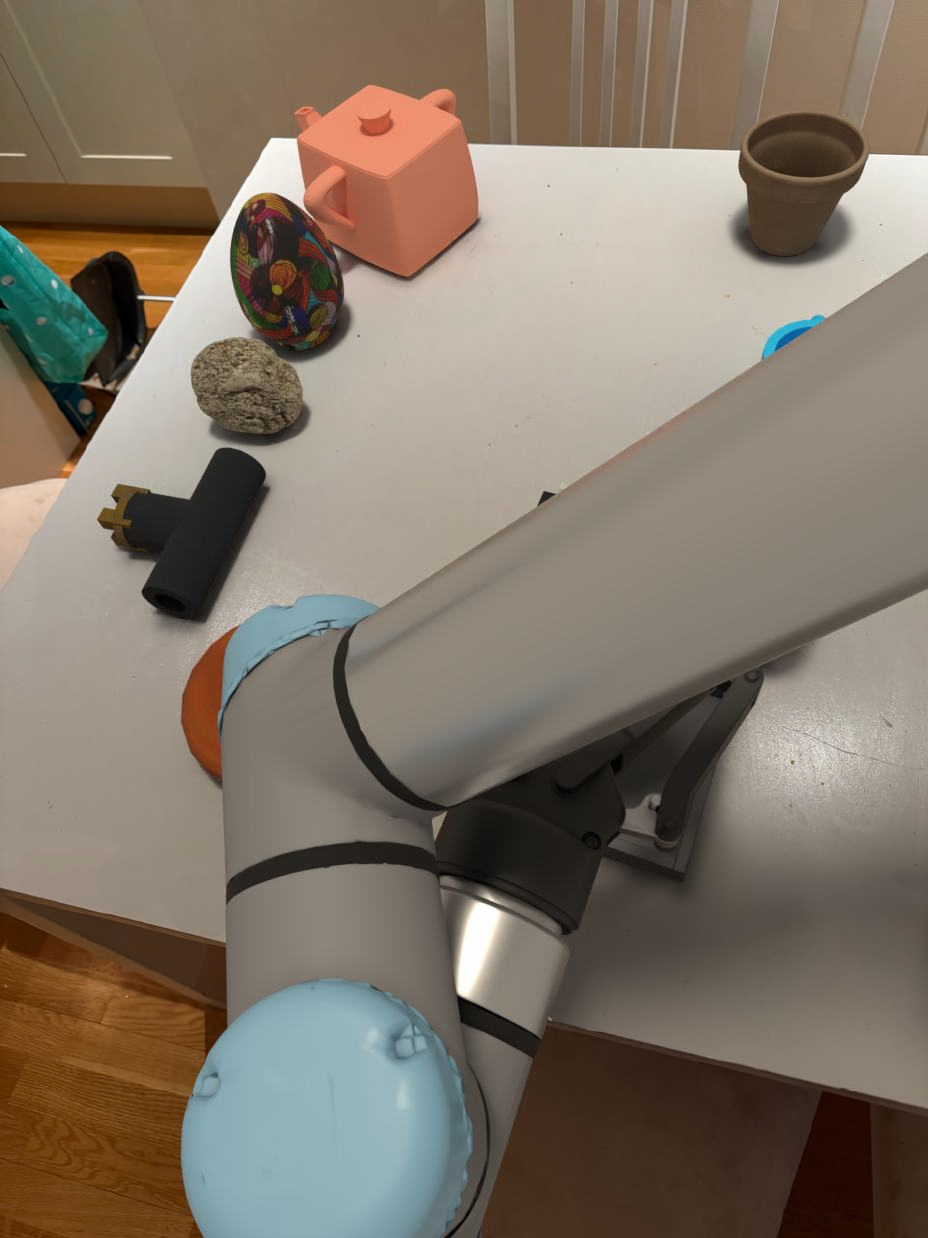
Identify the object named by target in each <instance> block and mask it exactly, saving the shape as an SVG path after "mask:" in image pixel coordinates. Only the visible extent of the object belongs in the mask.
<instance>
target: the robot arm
mask: <svg viewBox="0 0 928 1238" xmlns="http://www.w3.org/2000/svg"><path fill="white" fill-rule="evenodd" d="M825 318H826V319H825V320H823V321H821V322H820V323H818V324H817V325H815V326H814V327H812V328H811V329H809V330H808V331H806V332H805V333H803V334H802V335H800V336H798V337H797V338H795V339H794V340H792V341H791V342H789V343H788V344H786V345H785V346H783V347H782V348H780V349H778V350H777V351H775V352H774V353H772V354H771V355H769V356H768V357H766V358H765V359H763V360H762V361H761V360H760V361H758V362H757V363H756V364H754V365H752V366H751V367H749V368H748V369H746V370H745V371H743V372H741V373H740V374H738V375H737V376H735V377H734V378H733V379H731V380H729V381H728V382H726V383H724V384H723V385H721V386H720V387H719V388H717V389H715V390H714V391H712V392H711V393H709V394H708V395H706V396H704V397H703V398H701V399H700V400H698V401H697V402H696V403H694V404H692V405H691V406H690V407H689V406H688V407H687V408H686V409H685V410H683V411H681V412H680V413H678V414H677V415H675V416H674V417H673V418H670V419H669V420H668V421H666V422H665V423H663V424H662V425H660V426H658V427H657V428H655V429H654V430H652V431H651V432H649V433H648V434H646V435H645V436H643V437H642V438H640V439H639V440H637V441H635V442H634V443H632V444H631V445H629V446H628V447H625V449H623V450H622V451H620V452H619V453H617V454H616V455H614V456H613V457H611V458H609V459H608V460H606V461H605V462H603V463H602V464H600V465H599V466H597V467H596V468H593V469H592V470H590V471H589V472H588V473H586V474H585V475H583V476H582V477H580V478H578V479H577V480H575V481H574V482H573V483H571V484H569V485H568V486H566V487H565V488H563V489H562V490H560V491H559V492H556V493H555V492H550V491H546V490H543V492H542V494H541V496H540V498H539V500H538V503H537V505H536V506H535V507H533V509H531V510H530V511H528V512H526V513H525V514H524V515H522V516H520V517H518V518H517V519H516V520H514V521H512V522H511V523H509V524H508V525H506V526H505V527H503V528H501V530H499V531H497V532H496V533H494V534H492V535H491V536H489V537H488V538H486V539H485V540H483V541H481V542H480V543H479V544H477V545H476V546H474V547H473V548H471V549H470V550H468V551H466V552H465V553H464V554H462V555H460V556H458V557H457V558H455V559H454V560H453V561H450V562H449V563H448V564H447V565H445V566H444V567H441V568H440V569H439V570H437V571H436V572H434V573H432V574H431V575H429V576H428V577H426V578H425V579H423V580H422V581H420V582H418V583H417V584H415V585H414V586H412V587H411V588H410V589H408V590H407V591H405V592H404V593H402V594H400V595H398V596H397V597H396V598H394V599H392V600H391V601H390V602H388V603H386V605H383V606H382V607H380V606H378V605H377V604H375V603H372V602H370V601H367V600H364V599H361V598H358V597H355V596H350V595H344V594H336V593H331V594H326V593H325V594H324V593H323V594H307V595H302V596H298V597H297V598H296V600H295V602H294V604H290V605H279V604H271V605H267V606H265V607H263V608H262V609H259V610H258V611H256V612H255V613H253V614H252V615H251V616H249V617H247V619H245V620H244V621H243V622H242V623H241V624H239V625H240V626H239V627H238V628H237V630H236V631H235V632H234V634H233V635H232V637H231V639H230V641H229V643H228V645H227V648H226V651H225V657H224V666H223V684H222V702H221V709H220V711H219V712H218V719H217V722H218V737H219V742H220V745H221V764H222V781H221V785H222V786H221V789H222V792H221V793H222V815H223V816H222V817H223V818H222V819H223V843H224V868H225V869H224V871H225V873H224V874H225V960H226V961H225V963H226V964H225V965H226V966H225V967H226V968H225V969H226V1022H227V1024H226V1025H227V1028H226V1029H225V1030H224V1031H223V1033H221V1035H220V1036H219V1037H218V1038H217V1040H216V1042H215V1043H214V1044H213V1046H212V1047H211V1049H210V1050H209V1051H208V1053H207V1056H206V1059H205V1062H204V1064H203V1066H202V1068H201V1069H200V1072H199V1073H198V1075H197V1077H196V1080H195V1083H194V1086H193V1090H192V1092H191V1095H190V1097H189V1098H188V1101H187V1105H186V1109H185V1112H184V1115H183V1121H182V1128H181V1138H180V1139H181V1140H180V1141H181V1142H180V1163H181V1164H180V1165H181V1175H182V1180H183V1187H184V1191H185V1196H186V1199H187V1202H188V1206H189V1209H190V1212H191V1214H192V1216H193V1219H194V1221H195V1223H196V1226H197V1228H198V1230H199V1232H200V1233H201V1236H202V1237H203V1238H481V1237H482V1230H481V1227H482V1224H483V1220H484V1217H485V1214H486V1211H487V1208H488V1205H489V1201H490V1199H491V1195H492V1192H493V1190H494V1186H495V1182H496V1181H497V1177H498V1174H499V1171H500V1169H501V1168H500V1167H501V1164H502V1162H503V1159H504V1156H505V1153H506V1150H507V1146H508V1143H509V1140H510V1136H511V1133H512V1129H513V1126H514V1124H515V1120H516V1117H517V1114H518V1110H519V1106H520V1104H521V1101H522V1096H523V1093H524V1092H525V1091H524V1090H525V1087H526V1084H527V1080H528V1078H529V1075H530V1070H531V1068H532V1064H533V1061H534V1059H535V1058H536V1056H537V1053H538V1050H539V1047H540V1045H541V1040H542V1039H543V1036H544V1034H545V1031H546V1028H547V1024H548V1023H549V1022H548V1021H549V1018H550V1016H551V1013H552V1010H553V1006H554V1005H555V1001H556V997H557V995H558V992H559V988H560V986H561V982H562V980H563V977H564V974H565V970H566V968H567V964H568V961H569V959H570V955H571V952H570V950H569V947H568V945H567V943H566V941H564V939H562V937H565V936H569V935H572V934H573V932H576V931H578V930H579V928H580V926H581V922H582V920H583V916H584V914H585V911H586V908H587V905H588V902H589V899H590V894H591V893H592V890H593V886H594V883H595V880H596V877H597V874H598V871H599V868H600V865H601V862H602V859H603V856H604V855H603V853H604V851H605V850H606V848H607V847H608V845H609V844H610V843H611V842H612V841H613V840H614V839H615V838H617V837H618V836H619V835H620V833H622V834H626V835H629V836H633V837H637V838H641V839H644V840H648V841H652V842H653V843H654V846H655V847H656V848H657V849H658V850H659V851H661V852H663V853H669V852H672V851H674V850H675V849H676V848H677V846H678V843H679V840H680V836H681V833H682V830H683V825H684V820H685V815H686V810H687V807H688V805H689V804H690V802H691V801H692V799H693V798H694V796H695V795H696V793H697V791H698V790H699V788H700V787H701V785H702V784H703V782H704V781H705V779H706V778H707V776H708V775H709V773H710V772H711V770H712V769H713V767H714V766H715V767H716V765H717V762H719V760H720V758H721V757H722V755H723V753H724V752H725V750H726V749H727V747H728V746H729V744H730V743H731V742H732V740H733V738H734V737H735V735H736V734H737V732H738V731H739V729H740V728H741V726H742V725H743V723H744V721H745V720H746V718H747V717H748V715H749V714H750V712H751V711H752V709H753V708H754V706H755V705H756V702H757V700H758V697H759V695H760V692H761V689H762V687H763V684H764V681H765V674H764V672H763V670H762V669H760V668H759V667H760V666H763V665H765V664H767V663H770V662H771V661H773V660H776V659H778V658H780V657H783V656H784V655H787V654H789V653H791V652H793V651H796V650H798V649H800V648H803V647H804V646H807V645H809V644H811V643H814V642H815V641H817V640H819V639H822V638H824V637H826V636H828V635H831V634H833V633H835V632H837V631H839V630H841V629H844V628H846V627H849V626H850V625H852V624H854V623H857V622H859V621H861V620H863V619H866V618H867V617H870V616H872V615H874V614H877V613H878V612H881V611H883V610H886V609H887V608H889V607H890V608H891V606H894V605H896V604H898V603H900V602H903V601H905V600H907V599H909V598H911V597H914V596H916V595H918V594H920V593H922V592H925V591H927V590H928V252H926V253H924V254H923V255H922V256H920V257H918V258H917V259H915V260H914V261H912V262H910V263H909V264H907V265H906V266H905V267H903V268H902V269H900V270H898V271H897V272H895V273H894V274H892V275H891V276H889V277H887V278H886V279H884V280H883V281H881V282H880V283H878V284H877V285H874V286H873V287H872V288H871V289H869V290H867V291H866V292H865V293H863V294H862V295H860V296H858V297H857V298H855V299H854V300H852V301H850V302H849V303H847V304H846V305H845V306H843V307H841V308H840V309H838V310H837V311H835V312H834V313H832V314H831V315H829V316H828V317H825ZM717 688H718V690H719V691H720V690H722V691H723V692H725V694H724V696H723V697H722V699H721V700H720V702H719V703H718V705H717V706H716V708H715V709H714V710H713V712H712V713H711V715H710V716H709V718H708V719H707V721H706V722H705V724H704V725H703V727H702V728H701V730H700V731H699V733H698V734H697V736H696V737H695V739H694V740H693V742H692V743H691V745H690V746H689V747H688V749H687V750H686V752H685V753H684V755H683V756H682V758H681V759H680V761H679V762H678V764H677V765H676V767H675V768H674V770H673V771H672V773H671V775H670V776H669V778H668V780H667V782H666V784H665V787H664V790H663V793H662V794H659V793H650V794H648V795H646V796H645V797H644V799H643V801H642V803H641V804H640V805H639V806H637V807H635V808H625V804H624V802H623V799H622V796H621V793H620V790H619V787H618V785H617V782H616V779H615V778H616V777H618V776H619V775H620V774H621V773H622V772H623V771H625V770H626V769H627V768H628V767H629V766H630V765H631V763H632V762H633V760H634V759H635V758H636V757H637V756H638V755H639V754H641V753H642V752H643V751H644V750H645V749H646V748H648V747H649V746H650V745H651V744H652V743H653V742H655V741H656V740H657V739H658V738H659V737H661V736H662V735H663V734H664V733H665V732H666V731H668V730H669V729H670V728H671V727H672V726H673V725H675V724H676V723H677V722H678V721H679V720H680V719H682V718H683V717H684V716H685V715H686V714H687V713H689V712H690V711H691V710H692V709H693V708H694V707H696V706H697V705H698V704H699V703H700V702H701V701H703V700H704V699H705V698H706V697H707V696H709V695H710V694H711V693H712V692H713V691H714V690H716V689H717ZM445 813H446V814H445ZM443 814H445V815H444V818H443V820H442V823H441V824H440V828H439V830H438V832H437V835H436V837H435V835H434V826H433V820H434V818H437V817H439V816H442V815H443Z"/></svg>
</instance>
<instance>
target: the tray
mask: <svg viewBox="0 0 928 1238" xmlns="http://www.w3.org/2000/svg"><path fill="white" fill-rule="evenodd" d="M724 694H725V692H723V691H722V690H720V691H719V690H718V688H717V689H716V690H714V691H713V692H712V693H711V694H710V695H709V696H707V697H706V698H705V699H704V700H703V701H701V702H700V703H699V704H698V705H697V706H696V707H694V708H693V709H692V710H691V711H690V712H689V713H687V714H686V715H685V716H684V717H683V718H682V719H680V720H679V721H678V722H677V723H676V724H675V725H673V726H672V727H671V728H670V729H669V730H668V731H666V732H665V733H664V734H663V735H662V736H661V737H659V738H658V739H657V740H656V741H655V742H653V743H652V744H651V745H650V746H649V747H648V748H646V749H645V750H644V751H643V752H642V753H641V754H639V755H638V756H637V757H636V758H635V759H634V760H633V762H632V763H631V765H630V766H629V767H628V768H627V769H626V770H625V771H623V772H622V773H621V774H620V775H619V776H618V777H616V778H615V779H616V782H617V785H618V787H619V790H620V793H621V796H622V799H623V802H624V804H625V808H635V807H637V806H639V805H640V804H641V803H642V801H643V799H644V797H645V796H646V795H648V794H650V793H659V794H662V793H663V790H664V787H665V784H666V782H667V780H668V778H669V776H670V775H671V773H672V771H673V770H674V768H675V767H676V765H677V764H678V762H679V761H680V759H681V758H682V756H683V755H684V753H685V752H686V750H687V749H688V747H689V746H690V745H691V743H692V742H693V740H694V739H695V737H696V736H697V734H698V733H699V731H700V730H701V728H702V727H703V725H704V724H705V722H706V721H707V719H708V718H709V716H710V715H711V713H712V712H713V710H714V709H715V708H716V706H717V705H718V703H719V702H720V700H721V699H722V697H723V696H724ZM715 768H716V765H715V766H714V767H713V769H712V770H711V772H710V773H709V775H708V776H707V778H706V779H705V781H704V782H703V784H702V785H701V787H700V788H699V790H698V791H697V793H696V795H695V796H694V798H693V799H692V801H691V802H690V804H689V805H688V807H687V810H686V815H685V820H684V825H683V830H682V833H681V836H680V840H679V843H678V846H677V848H676V849H675V850H674V851H672V852H669V853H663V852H661V851H659V850H658V849H657V848H656V847H655V846H654V843H653V842H652V841H648V840H644V839H641V838H637V837H633V836H629V835H626V834H622V833H620V835H619V836H618V837H617V838H615V839H614V840H613V841H612V842H611V843H610V844H609V845H608V847H607V848H606V850H605V851H604V853H603V856H606V857H608V858H612V859H615V860H618V861H620V862H623V863H626V864H628V865H631V866H634V867H637V868H641V869H643V870H646V871H649V872H651V873H654V874H657V875H659V876H663V877H664V878H665V877H666V878H669V879H671V880H674V881H676V882H680V883H682V882H683V881H684V878H685V875H686V873H687V868H688V865H689V860H690V857H691V853H692V850H693V846H694V843H695V839H696V837H697V832H698V829H699V826H700V821H701V819H702V814H703V811H704V807H705V804H706V800H707V796H708V794H709V793H708V792H709V789H710V786H711V782H712V779H713V775H714V771H715Z"/></svg>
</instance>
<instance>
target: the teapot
mask: <svg viewBox="0 0 928 1238" xmlns="http://www.w3.org/2000/svg"><path fill="white" fill-rule="evenodd" d="M456 111H457V98H456V95H455V93H454V92H453V91H452V90H450V89H448V88H440V89H437V90H434V91H431V92H429V93H428V94H427V95H425V96H423V97H422V98H420V99H418V98H414V97H412V96H409V95H406V94H403V93H400V92H397V91H395V90H391V89H389V88H385V87H381V86H378V85H373V84H368V85H366V86H365V87H364V88H362V89H360V90H359V91H357V92H356V93H354V94H353V95H352V96H350V97H349V98H347V99H346V100H344V101H343V102H342V103H340V104H339V105H337V106H336V107H334V109H332V110H330V111H329V112H327V113H326V114H325V115H324V116H322V115H321V114H320V113H318V111H316V109H315V107H313V106H304V105H303V106H302V107H301V108H299V109H298V110H296V111H295V112H293V116H294V117H295V119H296V122H297V123H298V125H299V127H300V129H301V131H302V132H301V133H300V134H299V135H297V137H296V145H297V150H298V151H297V152H298V158H299V164H300V170H301V175H302V180H303V187H304V194H303V198H302V199H303V200H302V203H303V205H304V206H303V207H304V209H305V211H307V214H308V215H309V216H310V217H311V218H312V219H313V220H314V221H315V223H316V224H317V225H318V226H319V227H320V229H321V230H322V232H323V233H324V234H325V236H326V238H327V239H328V241H329V242H332V243H333V244H335V245H336V246H338V247H340V248H342V249H343V250H345V251H347V252H348V253H350V254H351V255H353V256H355V257H358V258H360V259H362V260H363V261H366V262H368V263H370V264H373V265H374V266H377V267H379V268H382V269H384V270H387V271H388V272H392V273H394V274H396V275H400V276H403V277H410V276H412V275H413V274H415V273H416V272H417V271H419V270H420V269H422V267H423V266H425V265H426V264H427V263H428V262H430V261H431V260H432V259H434V258H435V257H436V256H438V254H439V253H441V252H442V251H443V250H444V249H445V248H447V247H448V246H449V245H450V244H451V243H453V242H454V241H455V240H456V239H457V238H459V236H461V235H462V234H463V233H464V232H465V231H466V230H468V229H469V228H470V227H471V226H472V225H473V224H474V223H475V222H476V221H477V220H478V216H479V193H478V186H477V181H476V175H475V169H474V165H473V161H472V156H471V152H470V148H469V144H468V141H467V137H466V134H465V129H464V126H463V123H462V120H461V119H459V118H458V117H457V116H456Z"/></svg>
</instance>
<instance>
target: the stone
mask: <svg viewBox="0 0 928 1238" xmlns="http://www.w3.org/2000/svg"><path fill="white" fill-rule="evenodd" d="M190 367H191V368H190V377H191V378H190V383H191V387H192V391H193V393H194V395H195V397H196V403H197V405H198V408H199V409H200V410H201V412H202V413H203V414H204V415H206V416H207V417H210V418H211V419H212V420H213V421H214V422H215V423H217V424H219V425H220V426H223V427H225V428H226V429H228V430H230V431H234V432H240V433H247V434H256V435H257V434H260V435H261V434H264V435H271V434H274V433H278V432H280V431H281V430H282V429H283V428H286V427H289V426H291V425H292V424H293V423H294V422H295V421H296V420H297V419H298V418H299V416H300V413H301V410H302V403H303V393H304V388H303V386H302V383H301V380H300V378H299V376H298V373H297V369H296V368H295V367H294V366H293V364H291V363H290V362H288V361H287V360H286V359H283V358H282V357H279V356H278V355H277V353H276V352H275V350H274V349H273V348H272V347H271V346H270V345H269V344H268V343H266V342H265V341H264V340H262V339H259V338H258V339H257V338H249V337H240V336H238V337H228V338H224V339H220V340H216V341H214V342H211V343H209V344H207V345H206V346H205V347H204V348H203V349H201V351H199V353H198V354H197V355H196V356H195V357H194V359H193V360H192V362H191V365H190Z"/></svg>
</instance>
